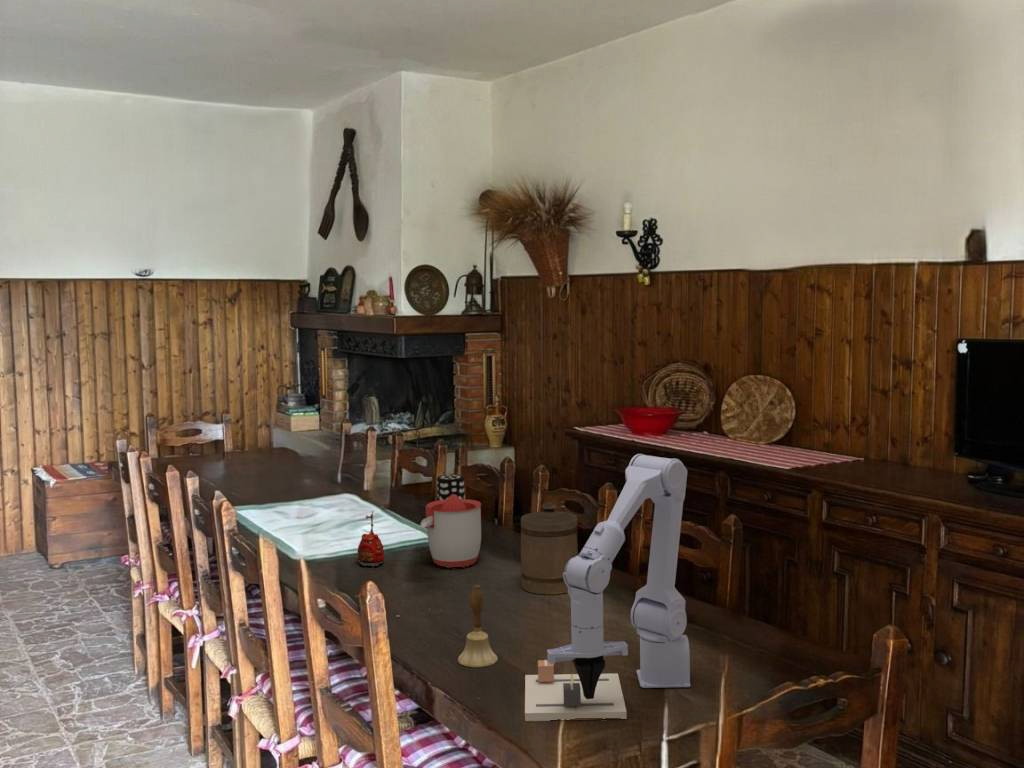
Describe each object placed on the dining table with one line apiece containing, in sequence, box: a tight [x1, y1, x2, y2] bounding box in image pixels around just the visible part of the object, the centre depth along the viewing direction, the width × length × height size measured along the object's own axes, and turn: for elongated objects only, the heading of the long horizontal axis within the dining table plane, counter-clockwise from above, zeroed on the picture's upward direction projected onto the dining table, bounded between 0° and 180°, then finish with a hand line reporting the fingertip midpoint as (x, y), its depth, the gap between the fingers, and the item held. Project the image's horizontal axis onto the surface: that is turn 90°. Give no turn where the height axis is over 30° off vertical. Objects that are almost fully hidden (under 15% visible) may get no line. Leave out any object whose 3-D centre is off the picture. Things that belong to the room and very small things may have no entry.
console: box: [524, 672, 628, 722], centre depth 179 cm, size 18×17×2 cm
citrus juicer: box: [420, 494, 482, 568], centre depth 270 cm, size 16×17×20 cm
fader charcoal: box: [563, 683, 581, 706], centre depth 173 cm, size 3×3×3 cm
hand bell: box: [457, 584, 499, 668], centre depth 199 cm, size 8×8×16 cm
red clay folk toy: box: [357, 510, 385, 563], centre depth 271 cm, size 8×7×15 cm
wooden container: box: [520, 501, 579, 596], centre depth 247 cm, size 15×15×22 cm
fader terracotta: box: [537, 659, 555, 682], centre depth 184 cm, size 3×3×3 cm
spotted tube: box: [436, 474, 466, 501], centre depth 294 cm, size 8×8×20 cm
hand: (588, 696), depth 173 cm, fingers closed
